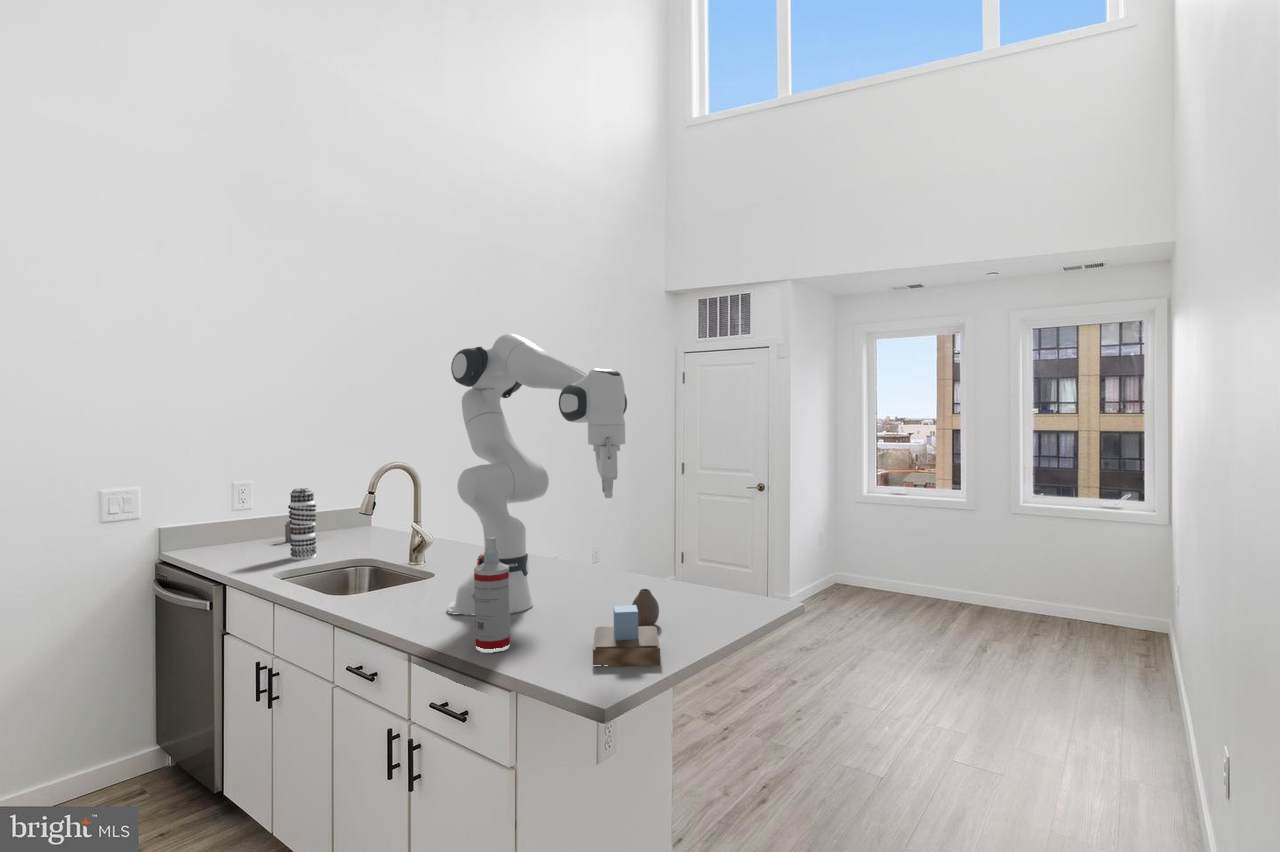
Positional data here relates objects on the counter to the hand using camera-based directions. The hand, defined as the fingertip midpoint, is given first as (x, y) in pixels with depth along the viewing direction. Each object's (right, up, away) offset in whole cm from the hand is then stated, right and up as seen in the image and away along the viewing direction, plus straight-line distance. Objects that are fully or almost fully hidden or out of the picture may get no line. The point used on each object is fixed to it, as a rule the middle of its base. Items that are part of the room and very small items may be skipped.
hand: (607, 495), depth 166 cm
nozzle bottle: (-25, -34, -8) cm, 43 cm away
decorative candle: (-115, -32, +89) cm, 149 cm away
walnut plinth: (+5, -34, -13) cm, 36 cm away
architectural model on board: (-132, -31, +122) cm, 182 cm away
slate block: (+5, -30, -13) cm, 32 cm away
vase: (+9, -33, +7) cm, 35 cm away
